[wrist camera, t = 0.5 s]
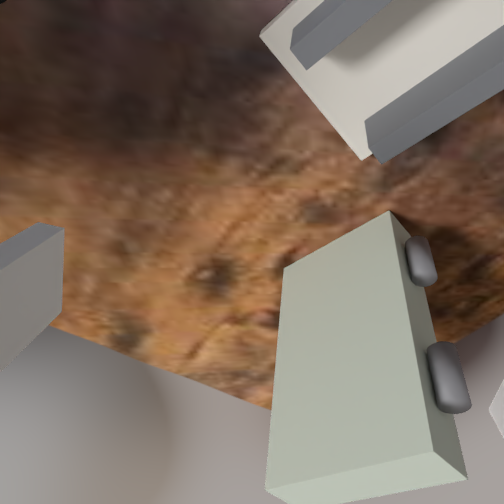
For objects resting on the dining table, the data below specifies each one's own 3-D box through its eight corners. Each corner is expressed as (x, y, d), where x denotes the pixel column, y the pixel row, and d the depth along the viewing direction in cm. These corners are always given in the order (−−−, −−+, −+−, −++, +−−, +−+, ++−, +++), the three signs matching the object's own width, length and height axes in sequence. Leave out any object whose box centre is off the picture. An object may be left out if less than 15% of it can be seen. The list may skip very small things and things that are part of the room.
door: (308, 290, 36) (301, 511, 24) (283, 268, 34) (264, 490, 23) (431, 228, 30) (501, 473, 19) (408, 199, 29) (467, 443, 17)
